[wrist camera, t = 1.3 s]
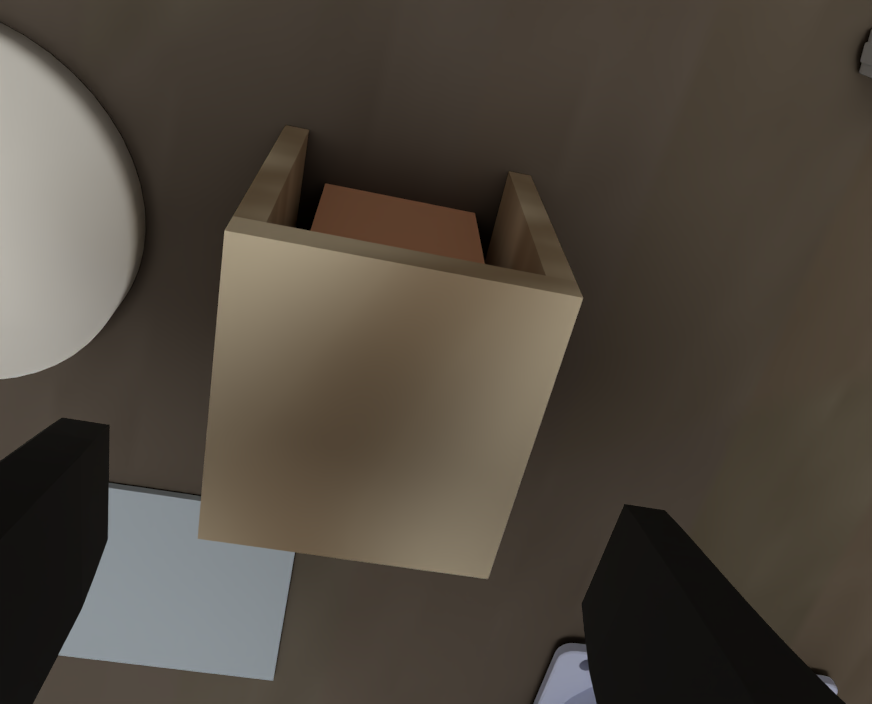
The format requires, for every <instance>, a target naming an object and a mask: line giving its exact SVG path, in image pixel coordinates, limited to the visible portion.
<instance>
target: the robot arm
mask: <svg viewBox="0 0 872 704" xmlns="http://www.w3.org/2000/svg"><path fill="white" fill-rule="evenodd" d="M108 500H109V425H106V424H100V423H93V422H87V421H80V420H74V419H67V418H61V419H59V420H58V421H56V422H55V423H53V424H52V425H50V426H49V427H47V428H46V429H44V430H43V431H41V432H40V433H39V434H37V435H36V436H34V437H33V438H32V439H30V440H29V441H27V442H26V443H25V444H23V445H22V446H20V447H19V448H18V449H16V450H15V451H14V452H12V453H11V454H9V455H8V456H7V457H5V458H4V459H2V460H1V461H0V704H33V702H34V700H35V698H36V696H37V695H38V693H39V691H40V689H41V687H42V685H43V683H44V681H45V679H46V677H47V675H48V674H49V672H50V670H51V668H52V666H53V664H54V662H55V660H56V658H57V656H58V654H59V652H60V651H61V649H62V647H63V645H64V643H65V641H66V639H67V637H68V635H69V633H70V631H71V629H72V627H73V625H74V623H75V621H76V619H77V617H78V615H79V614H80V612H81V610H82V607H83V605H84V602H85V600H86V597H87V594H88V592H89V589H90V587H91V584H92V582H93V579H94V576H95V574H96V571H97V568H98V565H99V563H100V560H101V557H102V554H103V552H104V549H105V546H106V543H107V541H108ZM582 611H583V622H584V632H585V642H586V644H579V643H567V644H563V645H562V646H560V647H559V648H558V649H557V650H556V651H555V654H554V656H553V658H552V661H551V663H550V665H549V668H548V670H547V672H546V675H545V677H544V680H543V682H542V684H541V687H540V689H539V691H538V694H537V696H536V698H535V701H534V703H533V704H846V703H845V702H843V701H842V700H841V699H840V698H839V697H838V696H837V693H838V690H837V687H836V685H835V683H834V681H833V680H832V679H831V678H830V677H827V676H824V675H816V674H815V673H814V672H813V671H812V670H811V669H810V668H809V667H808V666H807V665H806V664H805V663H804V662H803V661H802V660H801V659H800V658H799V657H798V656H797V655H796V654H795V653H794V652H793V651H792V650H791V649H790V648H789V647H788V645H787V644H786V643H785V642H784V641H783V640H782V639H781V638H780V637H779V636H778V635H777V634H776V633H775V632H774V631H773V630H772V629H771V627H770V626H769V625H768V624H767V623H766V622H765V621H764V620H763V619H762V618H761V617H760V616H759V614H758V613H757V612H756V611H755V610H754V609H753V608H752V607H751V606H750V605H749V603H748V602H747V601H746V600H745V599H744V598H743V597H742V596H741V595H740V593H739V592H738V591H737V590H736V589H735V588H734V587H733V586H732V584H731V583H730V582H729V581H728V580H727V579H726V578H725V577H724V575H723V574H722V573H721V572H720V571H719V570H718V569H717V567H716V566H715V565H714V564H713V563H712V562H711V561H710V560H709V558H708V557H707V556H706V555H705V554H704V553H703V552H702V550H701V549H700V548H699V547H698V546H697V545H696V544H695V543H694V541H693V540H692V539H691V538H690V537H689V536H688V535H687V534H686V532H685V531H684V530H683V529H682V528H681V527H680V526H679V525H678V524H677V523H676V522H675V521H674V520H673V518H672V517H671V516H670V515H669V514H668V513H667V512H666V511H665V510H659V509H652V508H646V507H639V506H633V505H626V504H624V507H623V509H622V511H621V514H620V516H619V518H618V521H617V523H616V525H615V528H614V530H613V532H612V535H611V537H610V539H609V542H608V544H607V546H606V549H605V551H604V553H603V556H602V558H601V560H600V563H599V565H598V567H597V570H596V572H595V574H594V577H593V579H592V581H591V584H590V586H589V588H588V590H587V593H586V595H585V597H584V600H583V602H582Z"/></svg>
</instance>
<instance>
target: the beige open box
mask: <svg viewBox="0 0 872 704" xmlns="http://www.w3.org/2000/svg"><path fill="white" fill-rule="evenodd" d="M308 135H309V130H307V129H303V128H298V127H293V126H288V125H285V127H284V129H283V130H282V132H281V134H280V136H279V137H278V139H277V141H276V143H275V144H274V146H273V148H272V149H271V151H270V153H269V155H268V156H267V158H266V160H265V162H264V163H263V165H262V167H261V168H260V170H259V172H258V174H257V175H256V177H255V179H254V181H253V182H252V184H251V186H250V187H249V189H248V191H247V193H246V194H245V196H244V198H243V199H242V201H241V203H240V205H239V206H238V208H237V210H236V212H235V213H234V215H233V217H232V218H231V220H230V222H229V224H228V225H227V227H226V229H225V231H224V242H223V254H222V265H221V277H220V288H219V299H218V311H217V322H216V334H215V345H214V356H213V368H212V379H211V391H210V402H209V413H208V425H207V436H206V447H205V459H204V470H203V482H202V493H201V504H200V516H199V527H198V539H203V540H210V541H217V542H224V543H231V544H238V545H246V546H253V547H260V548H267V549H274V550H282V551H289V552H296V553H303V554H310V555H318V556H325V557H332V558H339V559H346V560H354V561H361V562H368V563H375V564H382V565H389V566H397V567H404V568H411V569H418V570H425V571H433V572H440V573H447V574H454V575H461V576H469V577H476V578H483V579H488V577H489V574H490V572H491V569H492V566H493V563H494V560H495V557H496V554H497V551H498V548H499V545H500V542H501V539H502V536H503V533H504V530H505V527H506V524H507V521H508V518H509V515H510V512H511V510H512V507H513V504H514V501H515V498H516V495H517V492H518V489H519V486H520V483H521V480H522V477H523V474H524V471H525V468H526V465H527V462H528V459H529V456H530V453H531V451H532V448H533V445H534V442H535V439H536V436H537V433H538V430H539V427H540V424H541V421H542V418H543V415H544V412H545V409H546V406H547V403H548V400H549V397H550V394H551V392H552V389H553V386H554V383H555V380H556V377H557V374H558V371H559V368H560V365H561V362H562V359H563V356H564V353H565V350H566V347H567V344H568V341H569V338H570V335H571V332H572V330H573V327H574V324H575V321H576V318H577V315H578V312H579V309H580V306H581V303H582V300H583V296H582V294H581V292H580V289H579V287H578V285H577V282H576V280H575V278H574V275H573V273H572V271H571V268H570V266H569V264H568V261H567V259H566V257H565V254H564V252H563V250H562V247H561V245H560V243H559V240H558V238H557V236H556V233H555V231H554V229H553V226H552V224H551V222H550V219H549V217H548V215H547V212H546V210H545V208H544V205H543V203H542V201H541V198H540V196H539V194H538V191H537V189H536V187H535V185H534V182H533V180H532V178H531V176H530V175H525V174H520V173H516V172H511V171H509V172H508V176H507V180H506V184H505V187H504V191H503V195H502V199H501V203H500V206H499V210H498V214H497V218H496V221H495V225H494V229H493V233H492V237H491V240H490V244H489V248H488V252H487V255H486V259H485V264H482V263H477V262H471V261H466V260H461V259H456V258H450V257H445V256H440V255H435V254H429V253H424V252H419V251H414V250H408V249H403V248H398V247H393V246H387V245H382V244H377V243H372V242H366V241H361V240H356V239H351V238H345V237H340V236H335V235H330V234H324V233H319V232H314V231H309V230H303V229H298V228H296V224H297V217H298V209H299V202H300V194H301V187H302V180H303V172H304V165H305V157H306V150H307V142H308Z"/></svg>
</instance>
